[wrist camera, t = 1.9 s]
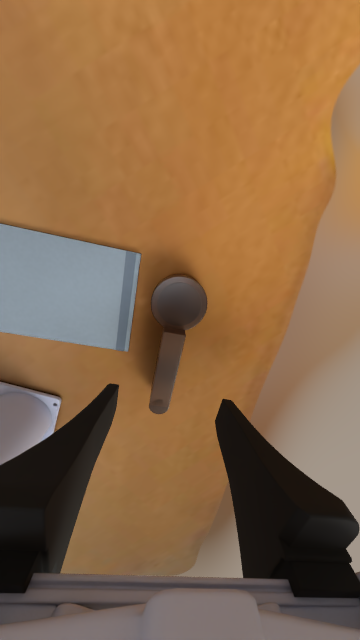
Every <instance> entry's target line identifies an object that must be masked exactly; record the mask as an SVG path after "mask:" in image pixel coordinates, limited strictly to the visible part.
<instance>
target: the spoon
mask: <svg viewBox="0 0 360 640" xmlns="http://www.w3.org/2000/svg"><path fill="white" fill-rule="evenodd" d="M151 309H152V313H153V315H154V317H155V319H156V320H157V321H158V322H159V323H160V324H161V325H162V326H163V331H162V336H161V341H160V346H159V352H158V357H157V362H156V367H155V373H154V378H153V383H152V389H151V396H150V403H149V408H150V410H151V411H152V412H153V413H155V414H163V413H165V412H166V411H167V410H168V408H169V404H170V400H171V396H172V392H173V388H174V383H175V379H176V375H177V371H178V366H179V362H180V358H181V354H182V350H183V345H184V341H185V337H186V334H185V330H188V329H190V328H192V327H194V326H196V325H197V324H198V323H199V322H200V321H201V320H202V319H203V317H204V315H205V313H206V310H207V297H206V293H205V291H204V289H203V288H202V286H201V285H200V284H199V283H198V282H197V281H196V280H194V279H193V278H191V277H190V276H187V275H183V274H174V275H170V276H168V277H166V278H164V279H163V280H162V281H160V282H159V284H158V285H157V286H156V288H155V290H154V292H153V295H152V299H151Z"/></svg>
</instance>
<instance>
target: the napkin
mask: <svg viewBox="0 0 360 640" xmlns="http://www.w3.org/2000/svg"><path fill="white" fill-rule="evenodd" d="M140 259H141V254H140V253H135V252H130V251H126V250H121V249H116V248H112V247H107V246H102V245H98V244H93V243H89V242H84V241H79V240H75V239H70V238H65V237H61V236H56V235H52V234H47V233H42V232H38V231H33V230H28V229H24V228H19V227H14V226H10V225H5V224H1V223H0V332H6V333H12V334H19V335H25V336H31V337H38V338H44V339H51V340H57V341H63V342H70V343H76V344H82V345H89V346H95V347H102V348H108V349H114V350H119V351H127V352H128V349H129V342H130V334H131V327H132V319H133V312H134V304H135V296H136V289H137V281H138V274H139V266H140Z"/></svg>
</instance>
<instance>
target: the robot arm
mask: <svg viewBox="0 0 360 640" xmlns="http://www.w3.org/2000/svg"><path fill="white" fill-rule="evenodd" d="M118 389H119V385H117V384H108V385H107V386H106V387H105V388H104V390H103V391H102V392H101V393H100V394H99V395H98V396H97V397H96V398H95V399H94V400H93V401H92V402H91V403H90V404H89V405H88V406H87V407H86V408H84V409H83V410H82V411H81V412H80V413H79V414H78V415H76V416H75V417H74V418H73V419H72V420H70V421H69V422H68V423H67V424H65V425H64V426H63V427H61V428H60V429H59V430H57V431H56V432H54V429H55V425H56V421H57V417H58V413H59V409H60V404H61V398H60V397H58V396H54V395H50V394H46V393H42V392H38V391H34V390H30V389H27V388H23V387H19V386H15V385H11V384H7V383H3V382H0V640H360V572H357V573H354V571H353V569H352V567H351V565H350V564H349V563H351V562H352V559H351V557H350V555H349V554H348V552H347V550H346V548H347V547H348V546H349V544H350V543H351V542H352V541H353V540H354V539H355V538H356V536H357V535H358V533H359V524H358V522H357V521H356V519H355V518H354V516H353V515H352V514H351V512H350V511H349V509H348V508H347V506H346V505H345V504H344V502H343V501H342V500H340V499H339V498H338V497H336V496H335V495H333V494H332V493H331V492H329V491H328V490H326V489H324V488H323V487H322V486H320V485H318V484H317V483H316V482H315V481H313V480H312V479H310V478H309V477H308V476H306V475H305V474H304V473H303V472H301V471H300V470H299V469H298V468H296V467H295V466H294V465H293V464H292V463H290V462H289V461H288V460H287V459H286V458H284V457H283V456H282V455H281V454H280V453H279V452H278V451H277V450H276V449H275V448H274V447H272V445H270V444H269V443H268V442H267V441H266V440H265V439H264V437H263V436H262V435H261V434H260V433H259V432H258V431H257V430H256V429H255V428H254V427H253V425H251V423H250V422H249V421H248V420H247V418H246V417H245V416H244V415H243V414H242V412H241V411H240V410H239V409H238V408H237V406H236V405H235V404H234V403H233V402H232V401H231V400H227V399H223V400H222V403H221V405H220V408H219V411H218V414H217V417H216V420H215V424H216V431H217V437H218V441H219V445H220V449H221V452H222V456H223V460H224V463H225V467H226V471H227V475H228V479H229V483H230V489H231V494H232V500H233V506H234V512H235V518H236V525H237V532H238V539H239V546H240V553H241V562H242V571H243V578H213V577H176V576H137V575H98V574H60V571H61V568H62V565H63V561H64V558H65V555H66V551H67V548H68V545H69V542H70V538H71V535H72V532H73V529H74V526H75V522H76V519H77V516H78V513H79V510H80V507H81V504H82V500H83V497H84V494H85V491H86V488H87V485H88V482H89V479H90V476H91V473H92V470H93V467H94V465H95V462H96V460H97V457H98V455H99V453H100V450H101V448H102V446H103V443H104V441H105V438H106V436H107V434H108V431H109V429H110V427H111V424H112V421H113V417H114V414H115V411H116V406H117V397H118Z"/></svg>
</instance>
